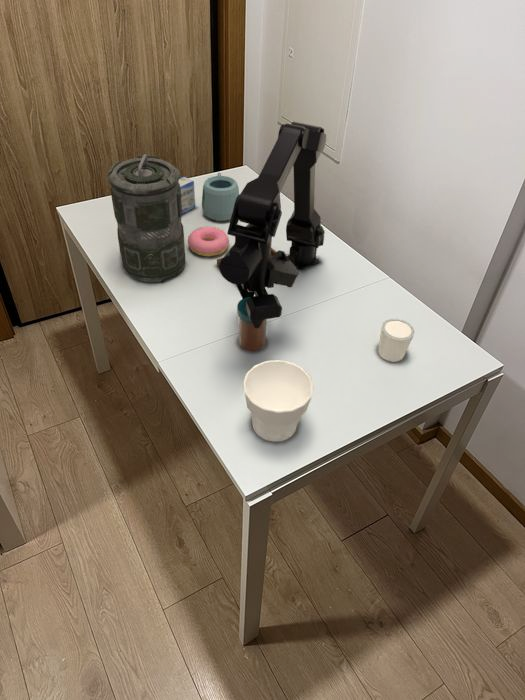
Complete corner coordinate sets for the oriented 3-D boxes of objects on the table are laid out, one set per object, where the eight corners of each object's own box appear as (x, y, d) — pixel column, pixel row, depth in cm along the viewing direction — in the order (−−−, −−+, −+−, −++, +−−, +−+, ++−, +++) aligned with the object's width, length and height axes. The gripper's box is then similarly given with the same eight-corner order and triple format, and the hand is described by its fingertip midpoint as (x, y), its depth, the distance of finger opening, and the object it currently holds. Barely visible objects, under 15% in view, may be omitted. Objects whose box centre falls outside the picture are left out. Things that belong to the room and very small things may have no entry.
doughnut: (219, 233, 148) (219, 219, 145) (235, 254, 141) (235, 240, 138) (182, 241, 145) (181, 227, 142) (196, 262, 138) (196, 249, 135)
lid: (233, 305, 113) (234, 298, 112) (264, 301, 114) (264, 294, 113) (241, 325, 108) (241, 318, 107) (272, 321, 110) (273, 314, 108)
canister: (128, 247, 141) (112, 143, 122) (188, 249, 142) (182, 145, 123) (117, 283, 130) (98, 174, 111) (182, 285, 131) (174, 177, 111)
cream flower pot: (243, 397, 106) (244, 357, 98) (306, 400, 106) (312, 361, 98) (239, 449, 97) (240, 410, 89) (308, 452, 97) (315, 414, 89)
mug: (201, 198, 162) (200, 166, 155) (237, 197, 163) (237, 166, 156) (202, 224, 151) (201, 191, 144) (241, 223, 153) (241, 191, 146)
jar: (255, 330, 120) (257, 296, 113) (270, 345, 117) (272, 311, 110) (233, 339, 117) (234, 305, 111) (248, 355, 114) (249, 321, 107)
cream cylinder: (400, 368, 113) (407, 344, 108) (370, 355, 116) (376, 331, 111) (411, 349, 118) (419, 326, 113) (382, 337, 120) (389, 314, 115)
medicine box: (176, 218, 153) (174, 190, 147) (165, 212, 155) (163, 184, 149) (195, 208, 158) (194, 180, 152) (185, 202, 160) (183, 175, 154)
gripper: (311, 278, 97) (303, 341, 107) (281, 225, 109) (276, 286, 120) (252, 286, 94) (249, 349, 105) (228, 230, 107) (228, 292, 118)
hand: (252, 317), depth 112 cm, fingers closed on lid, 6 cm apart
